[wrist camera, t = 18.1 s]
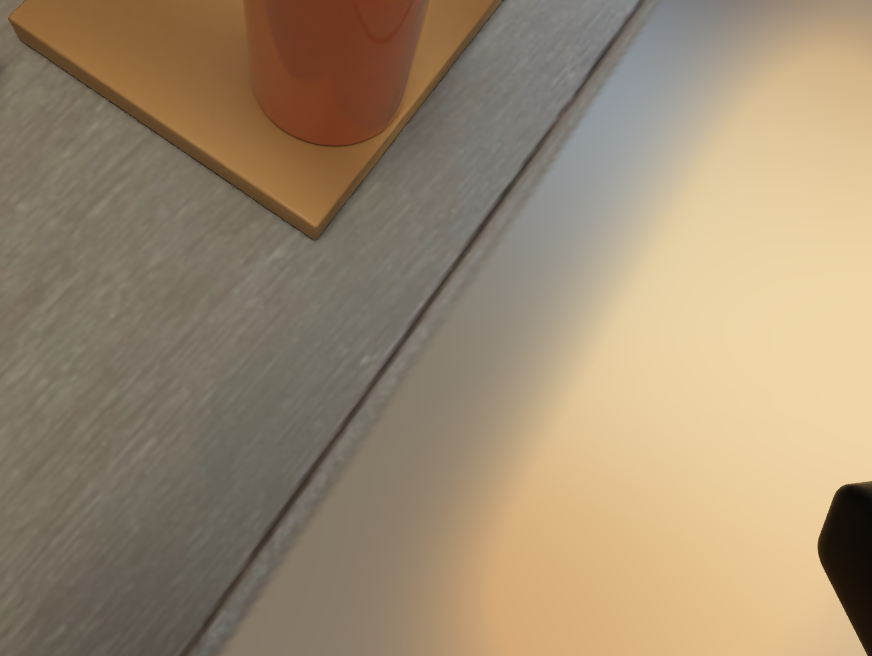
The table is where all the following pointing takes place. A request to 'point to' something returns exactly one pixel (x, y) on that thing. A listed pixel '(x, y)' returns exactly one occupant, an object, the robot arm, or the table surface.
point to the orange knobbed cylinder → (332, 64)
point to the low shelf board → (228, 90)
